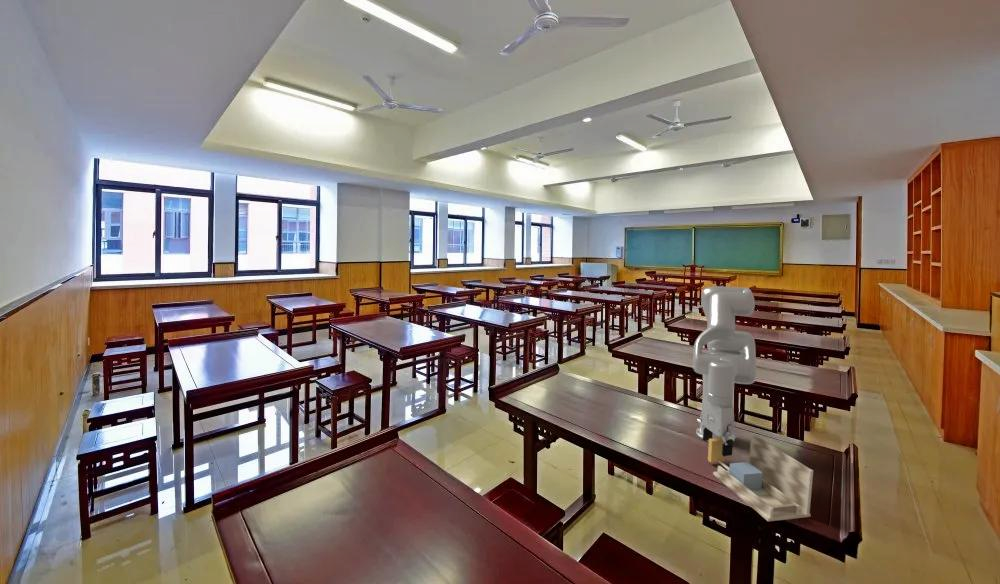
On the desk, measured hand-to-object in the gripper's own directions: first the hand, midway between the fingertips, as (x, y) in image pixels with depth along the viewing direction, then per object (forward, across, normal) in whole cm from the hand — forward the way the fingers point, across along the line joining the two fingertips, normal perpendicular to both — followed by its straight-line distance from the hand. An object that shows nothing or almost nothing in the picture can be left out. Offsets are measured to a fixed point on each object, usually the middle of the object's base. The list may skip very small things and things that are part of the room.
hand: (716, 447), depth 135 cm
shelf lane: (+5, +17, +1) cm, 18 cm away
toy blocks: (+4, +8, 0) cm, 9 cm away
